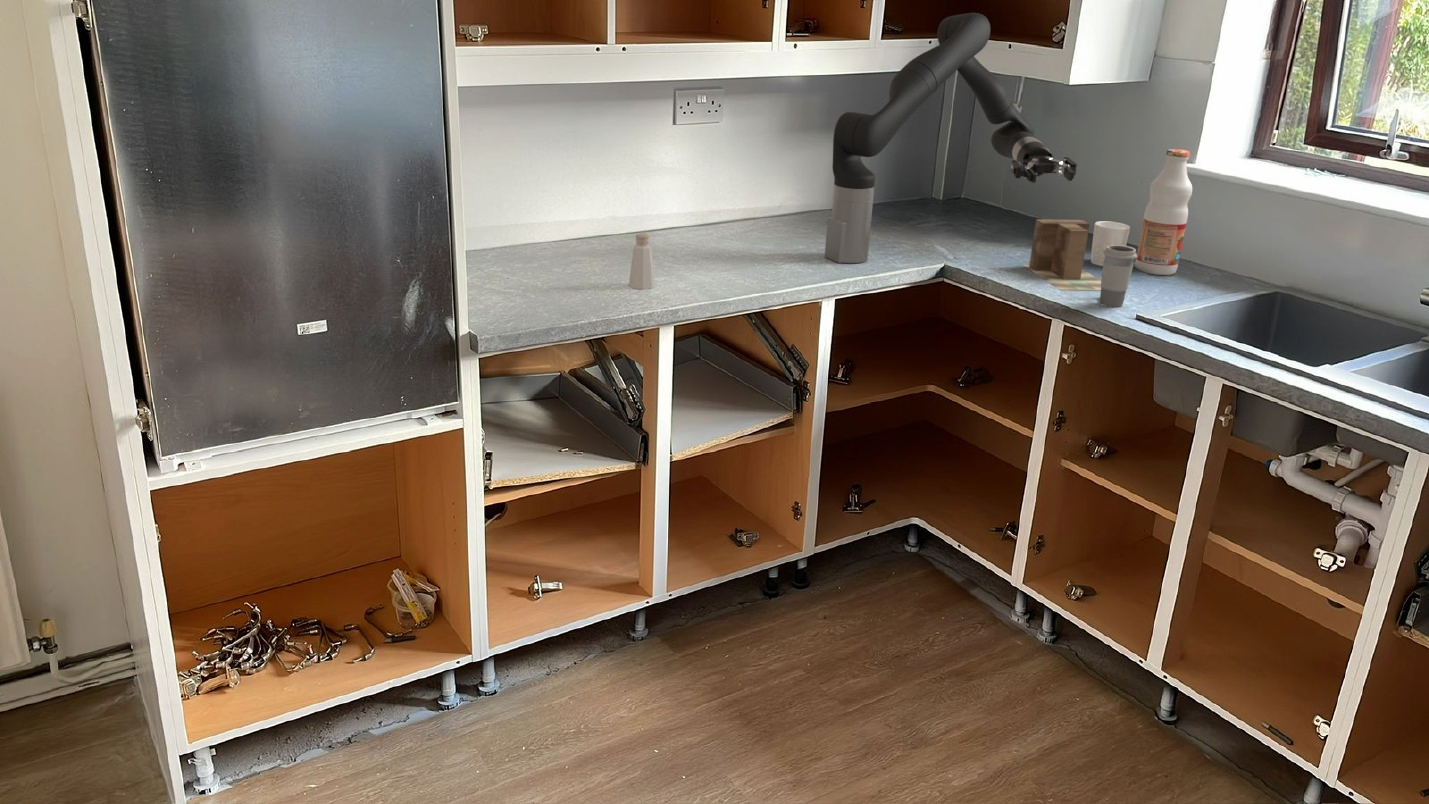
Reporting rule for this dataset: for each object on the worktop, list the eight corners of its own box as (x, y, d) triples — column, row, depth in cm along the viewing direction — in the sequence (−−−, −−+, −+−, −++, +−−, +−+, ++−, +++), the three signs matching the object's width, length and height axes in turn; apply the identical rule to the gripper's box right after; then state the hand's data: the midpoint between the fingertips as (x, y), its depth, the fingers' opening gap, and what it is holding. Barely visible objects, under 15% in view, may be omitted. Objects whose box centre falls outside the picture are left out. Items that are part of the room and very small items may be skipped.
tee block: (1029, 266, 254) (1036, 219, 250) (1073, 266, 256) (1081, 219, 252) (1048, 279, 244) (1056, 230, 240) (1095, 279, 246) (1103, 231, 242)
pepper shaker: (639, 280, 232) (640, 229, 228) (659, 285, 230) (661, 234, 225) (623, 286, 228) (623, 234, 224) (643, 291, 225) (644, 238, 221)
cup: (1102, 297, 235) (1112, 242, 231) (1132, 304, 231) (1143, 248, 227) (1088, 303, 230) (1098, 247, 226) (1119, 310, 226) (1130, 254, 222)
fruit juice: (1127, 264, 263) (1149, 146, 252) (1165, 265, 264) (1188, 147, 253) (1144, 275, 254) (1168, 153, 244) (1183, 276, 255) (1208, 154, 244)
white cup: (1125, 265, 262) (1133, 224, 258) (1118, 272, 256) (1126, 230, 252) (1091, 260, 266) (1099, 219, 262) (1084, 267, 259) (1091, 225, 256)
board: (1022, 268, 256) (1023, 265, 255) (1075, 268, 257) (1076, 265, 257) (1060, 294, 236) (1061, 290, 236) (1117, 294, 238) (1117, 290, 238)
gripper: (1004, 142, 264) (1023, 163, 250) (1062, 139, 264) (1085, 160, 250) (1001, 172, 268) (1020, 195, 254) (1059, 169, 268) (1081, 191, 254)
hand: (1052, 177), depth 252 cm, fingers open, 8 cm apart
